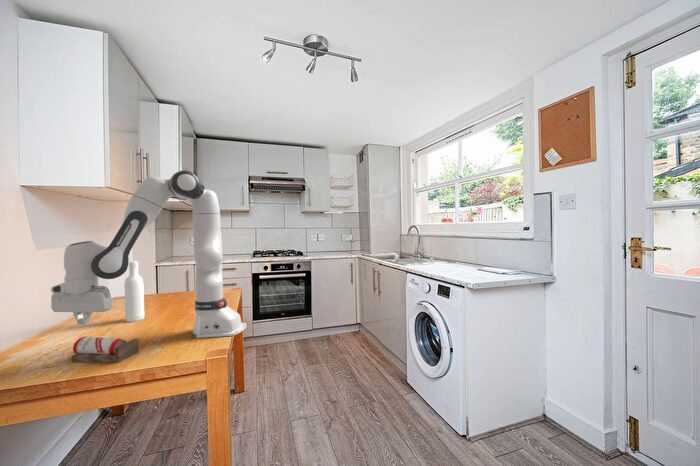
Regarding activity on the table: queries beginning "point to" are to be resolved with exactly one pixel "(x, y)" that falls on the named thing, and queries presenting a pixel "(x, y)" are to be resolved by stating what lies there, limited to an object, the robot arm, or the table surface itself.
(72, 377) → the table surface
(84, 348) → the beer can
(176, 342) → the table surface
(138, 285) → the bottle
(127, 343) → the rest
